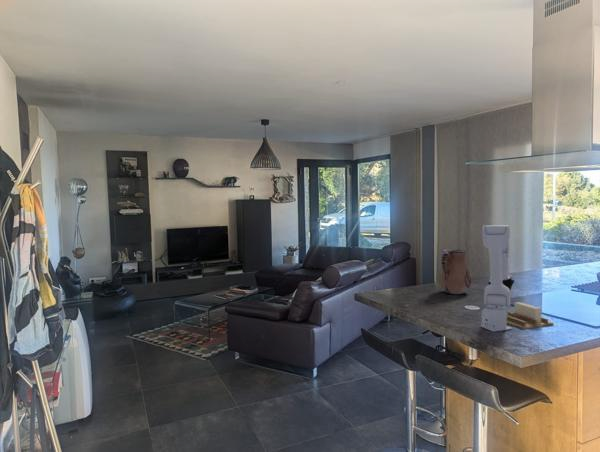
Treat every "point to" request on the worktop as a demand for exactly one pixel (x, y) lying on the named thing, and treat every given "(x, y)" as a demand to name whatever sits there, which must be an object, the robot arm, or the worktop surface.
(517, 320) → the ridged tan board
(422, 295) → the worktop surface
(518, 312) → the cream rectangular block
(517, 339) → the worktop surface
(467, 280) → the ceramic pitcher
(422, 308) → the worktop surface
